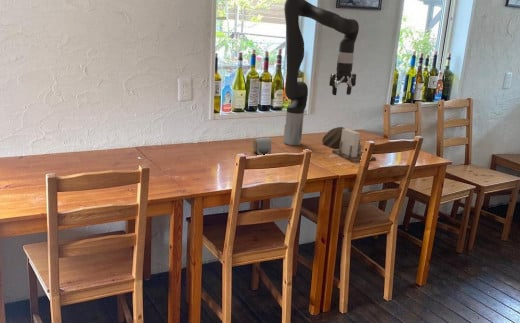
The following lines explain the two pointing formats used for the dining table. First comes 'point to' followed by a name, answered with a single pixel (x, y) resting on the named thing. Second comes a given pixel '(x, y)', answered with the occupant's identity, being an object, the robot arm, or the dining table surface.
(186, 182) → the dining table surface
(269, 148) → the ceramic mug
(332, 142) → the decorative dome
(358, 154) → the dish rack
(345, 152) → the cream tile
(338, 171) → the dining table surface
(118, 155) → the dining table surface
